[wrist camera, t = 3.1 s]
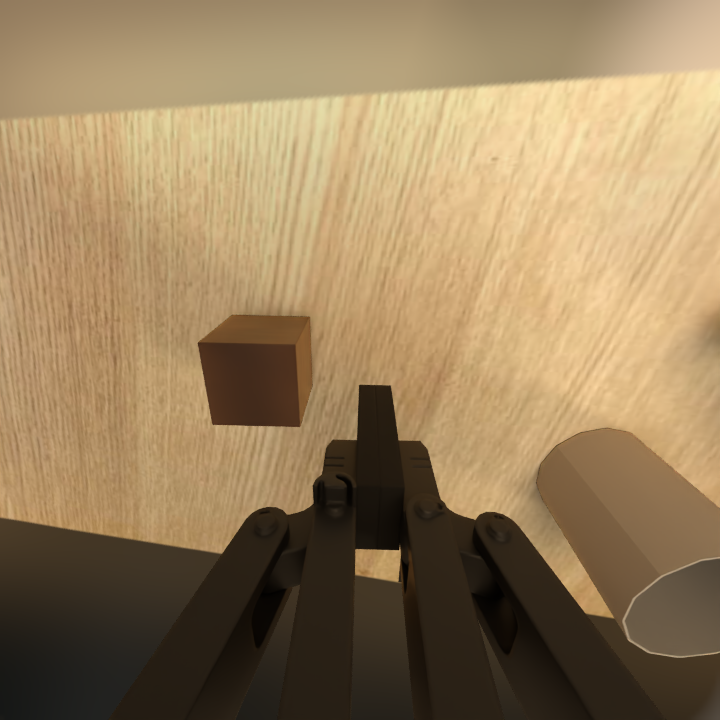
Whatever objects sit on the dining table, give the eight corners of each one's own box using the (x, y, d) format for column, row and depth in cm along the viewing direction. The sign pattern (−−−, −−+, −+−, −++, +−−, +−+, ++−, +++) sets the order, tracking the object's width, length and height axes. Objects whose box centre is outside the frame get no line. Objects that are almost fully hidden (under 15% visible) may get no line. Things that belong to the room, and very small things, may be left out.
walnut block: (309, 316, 22) (295, 344, 18) (312, 385, 24) (300, 427, 20) (231, 314, 22) (197, 342, 18) (241, 384, 24) (212, 425, 20)
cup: (655, 493, 28) (799, 635, 18) (552, 525, 29) (637, 670, 20) (639, 411, 25) (801, 532, 16) (524, 452, 26) (610, 583, 17)
